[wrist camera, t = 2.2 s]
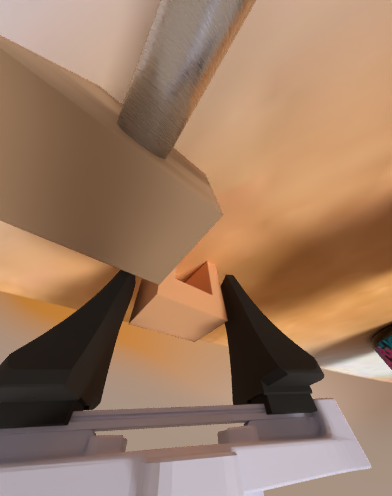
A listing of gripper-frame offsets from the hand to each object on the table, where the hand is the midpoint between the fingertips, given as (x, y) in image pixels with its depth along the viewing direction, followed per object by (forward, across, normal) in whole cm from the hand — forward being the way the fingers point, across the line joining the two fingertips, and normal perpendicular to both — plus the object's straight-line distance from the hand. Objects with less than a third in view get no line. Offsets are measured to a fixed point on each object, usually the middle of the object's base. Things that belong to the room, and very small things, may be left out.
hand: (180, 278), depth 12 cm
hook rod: (-2, -1, -15) cm, 15 cm away
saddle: (+1, 0, 0) cm, 1 cm away
